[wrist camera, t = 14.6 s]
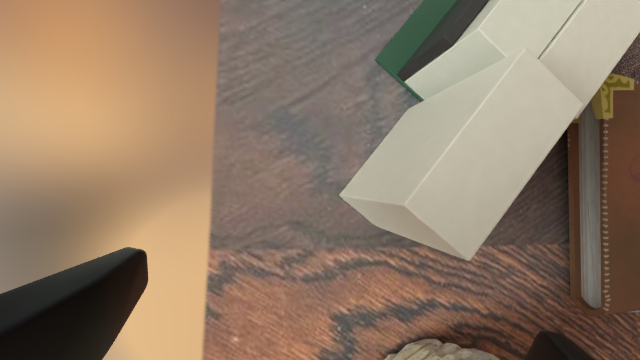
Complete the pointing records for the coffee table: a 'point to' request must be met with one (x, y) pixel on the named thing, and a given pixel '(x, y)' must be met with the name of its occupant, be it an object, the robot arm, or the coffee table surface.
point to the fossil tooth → (438, 352)
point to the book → (606, 200)
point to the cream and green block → (511, 41)
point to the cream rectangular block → (464, 155)
